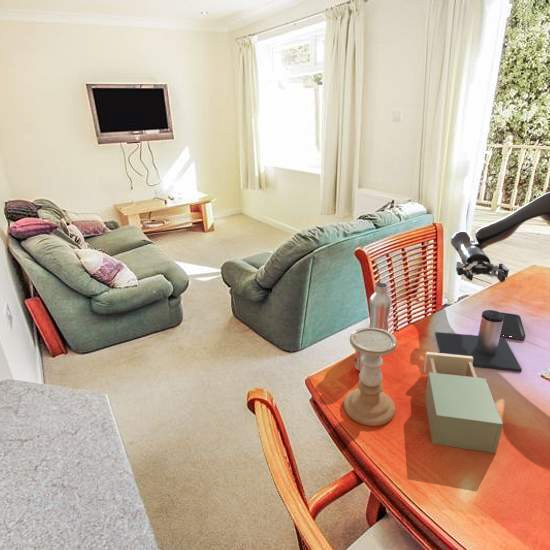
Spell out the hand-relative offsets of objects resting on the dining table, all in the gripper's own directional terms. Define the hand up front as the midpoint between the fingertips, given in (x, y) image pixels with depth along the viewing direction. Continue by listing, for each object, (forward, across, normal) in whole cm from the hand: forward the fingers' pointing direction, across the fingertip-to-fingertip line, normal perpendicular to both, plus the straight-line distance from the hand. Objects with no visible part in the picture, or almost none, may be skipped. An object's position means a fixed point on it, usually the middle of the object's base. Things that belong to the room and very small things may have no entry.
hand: (487, 278), depth 113 cm
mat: (+11, -3, +19) cm, 22 cm away
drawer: (+30, -13, +18) cm, 38 cm away
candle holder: (+41, -33, +20) cm, 56 cm away
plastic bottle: (+11, -31, +19) cm, 38 cm away
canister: (+11, 0, +18) cm, 21 cm away
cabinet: (+42, -13, +19) cm, 48 cm away
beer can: (+25, -35, +20) cm, 47 cm away
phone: (-6, +10, +19) cm, 23 cm away
